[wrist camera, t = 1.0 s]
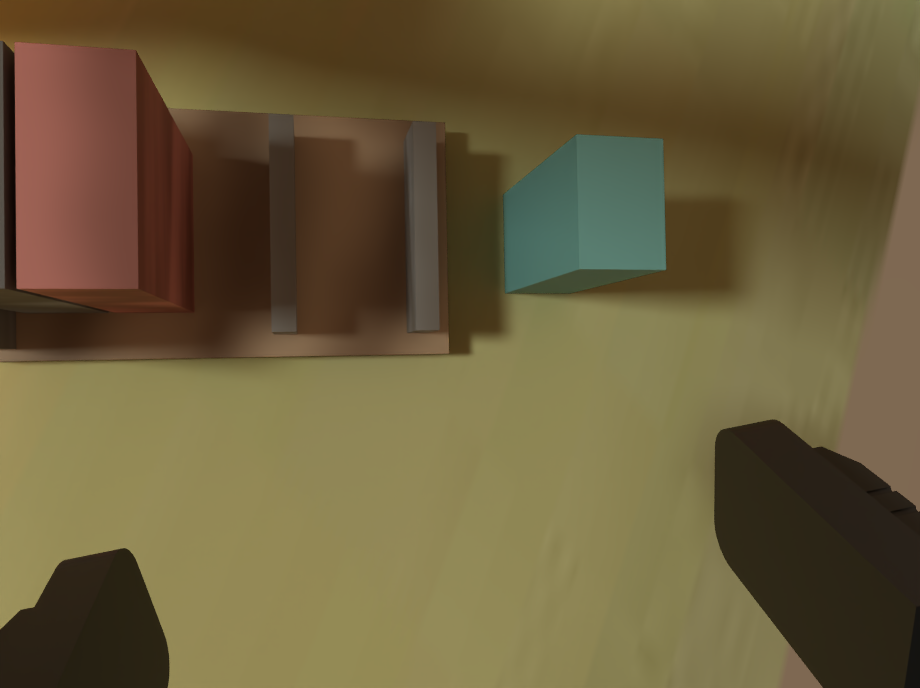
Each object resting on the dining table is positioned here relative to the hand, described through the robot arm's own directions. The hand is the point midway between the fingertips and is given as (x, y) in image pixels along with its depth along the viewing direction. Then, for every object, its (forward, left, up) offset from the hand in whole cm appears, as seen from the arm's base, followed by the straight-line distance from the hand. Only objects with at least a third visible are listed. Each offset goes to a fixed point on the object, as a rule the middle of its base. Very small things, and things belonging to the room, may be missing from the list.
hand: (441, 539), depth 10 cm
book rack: (-10, +1, -25) cm, 27 cm away
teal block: (-1, +13, -25) cm, 28 cm away
